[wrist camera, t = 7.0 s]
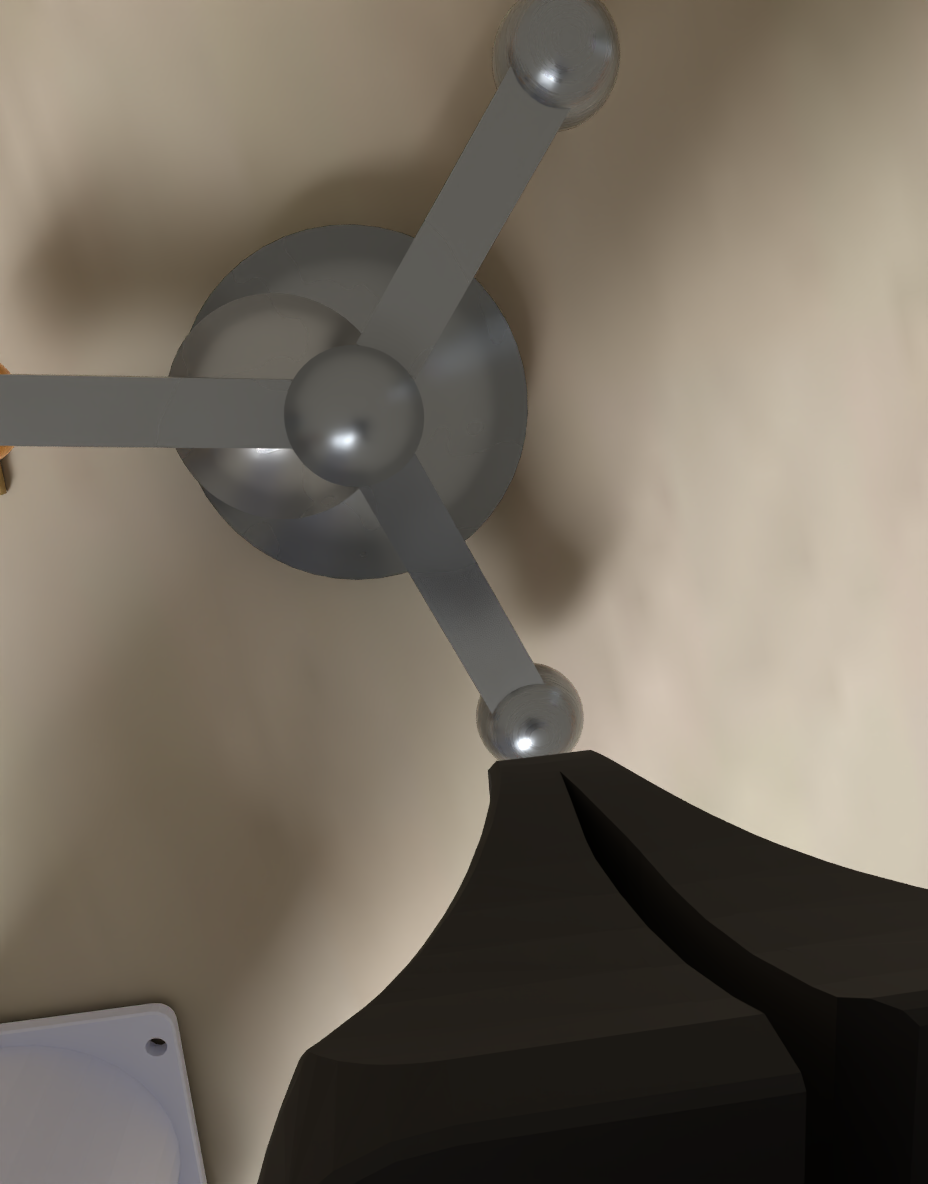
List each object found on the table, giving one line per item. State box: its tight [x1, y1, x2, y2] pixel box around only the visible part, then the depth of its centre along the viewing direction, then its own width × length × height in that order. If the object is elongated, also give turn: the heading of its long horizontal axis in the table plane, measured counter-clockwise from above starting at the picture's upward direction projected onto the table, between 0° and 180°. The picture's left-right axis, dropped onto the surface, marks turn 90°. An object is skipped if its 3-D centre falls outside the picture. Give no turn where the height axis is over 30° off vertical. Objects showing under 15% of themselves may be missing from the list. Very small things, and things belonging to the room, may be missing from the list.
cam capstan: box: [0, 0, 620, 761], centre depth 17 cm, size 13×14×4 cm
